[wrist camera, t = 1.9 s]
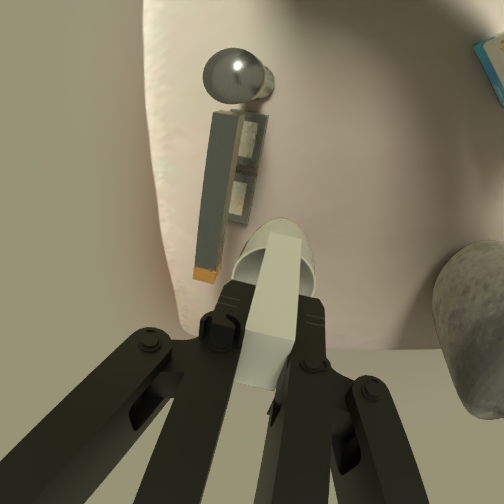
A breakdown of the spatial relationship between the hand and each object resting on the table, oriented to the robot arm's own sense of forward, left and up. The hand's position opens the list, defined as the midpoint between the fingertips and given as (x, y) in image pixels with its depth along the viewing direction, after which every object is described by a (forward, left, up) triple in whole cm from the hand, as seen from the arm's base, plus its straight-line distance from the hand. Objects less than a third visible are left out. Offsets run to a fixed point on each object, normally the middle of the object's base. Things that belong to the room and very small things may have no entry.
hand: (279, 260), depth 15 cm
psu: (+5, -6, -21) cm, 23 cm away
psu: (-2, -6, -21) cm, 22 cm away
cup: (+9, +1, -21) cm, 23 cm away
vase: (+8, +28, -21) cm, 36 cm away
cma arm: (0, -6, -13) cm, 14 cm away
